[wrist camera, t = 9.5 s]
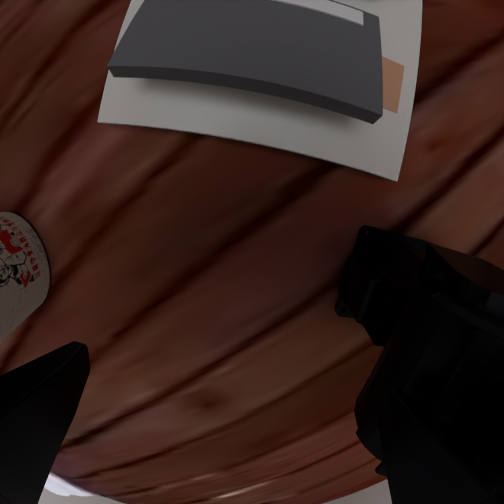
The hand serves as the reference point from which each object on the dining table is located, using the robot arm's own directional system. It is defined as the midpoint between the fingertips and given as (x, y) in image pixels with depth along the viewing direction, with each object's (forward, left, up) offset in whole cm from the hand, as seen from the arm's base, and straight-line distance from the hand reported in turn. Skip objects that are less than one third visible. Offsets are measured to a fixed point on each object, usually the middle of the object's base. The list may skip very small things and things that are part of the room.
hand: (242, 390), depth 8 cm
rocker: (+2, -12, -8) cm, 15 cm away
